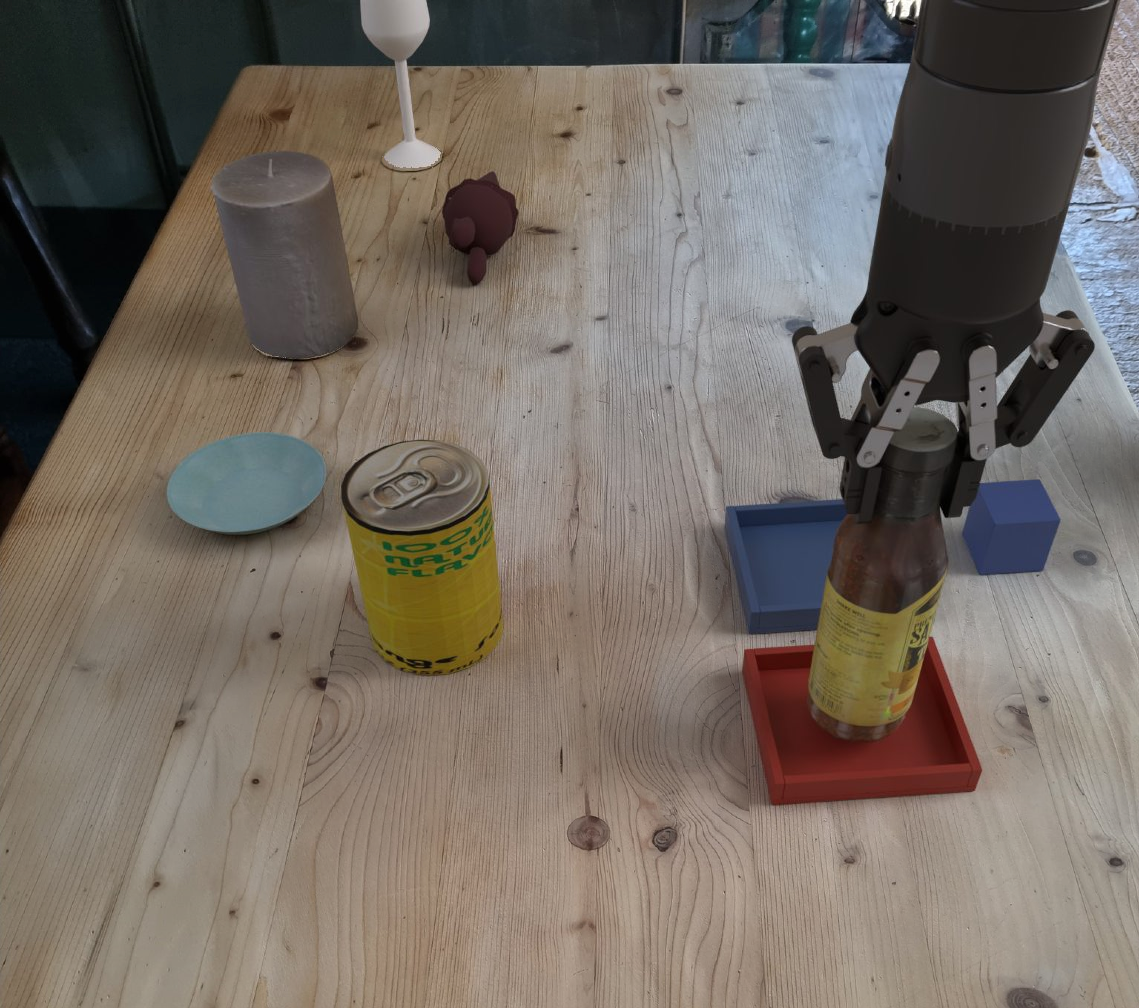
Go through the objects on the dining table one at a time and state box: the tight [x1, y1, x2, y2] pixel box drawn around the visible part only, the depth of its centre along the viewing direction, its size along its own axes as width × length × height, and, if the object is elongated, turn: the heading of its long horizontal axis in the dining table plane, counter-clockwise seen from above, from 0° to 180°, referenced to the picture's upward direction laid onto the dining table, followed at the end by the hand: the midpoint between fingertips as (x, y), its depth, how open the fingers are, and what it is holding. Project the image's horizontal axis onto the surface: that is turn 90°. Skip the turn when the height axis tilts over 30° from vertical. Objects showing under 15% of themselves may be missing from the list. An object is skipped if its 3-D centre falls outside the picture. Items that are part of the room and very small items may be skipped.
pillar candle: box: [209, 150, 359, 360], centre depth 102 cm, size 10×10×15 cm
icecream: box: [441, 171, 520, 286], centre depth 114 cm, size 7×7×15 cm
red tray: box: [741, 636, 983, 806], centre depth 75 cm, size 12×11×2 cm
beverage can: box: [340, 439, 504, 677], centre depth 78 cm, size 9×9×12 cm
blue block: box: [961, 478, 1061, 576], centre depth 84 cm, size 4×4×4 cm
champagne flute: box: [359, 0, 441, 168], centre depth 121 cm, size 7×7×24 cm
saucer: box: [166, 431, 327, 536], centre depth 91 cm, size 12×12×2 cm
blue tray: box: [723, 498, 847, 635], centre depth 84 cm, size 12×11×2 cm
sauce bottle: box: [807, 406, 959, 742], centre depth 67 cm, size 6×6×20 cm
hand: (904, 509), depth 63 cm, fingers closed on sauce bottle, 4 cm apart
